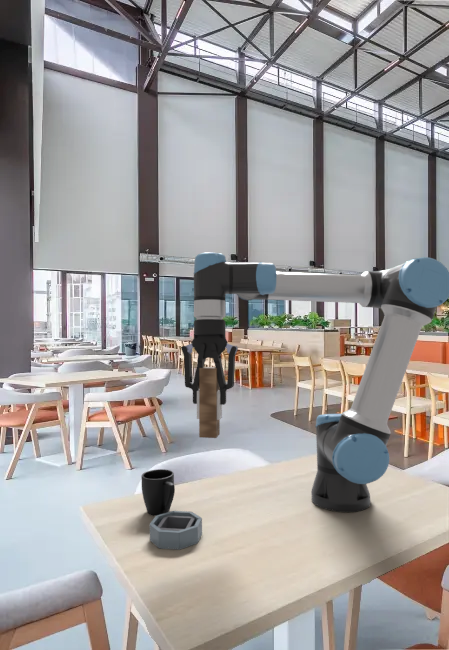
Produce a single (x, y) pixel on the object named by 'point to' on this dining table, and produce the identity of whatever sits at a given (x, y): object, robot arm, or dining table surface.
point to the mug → (158, 491)
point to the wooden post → (208, 403)
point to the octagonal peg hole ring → (176, 530)
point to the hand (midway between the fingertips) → (209, 417)
